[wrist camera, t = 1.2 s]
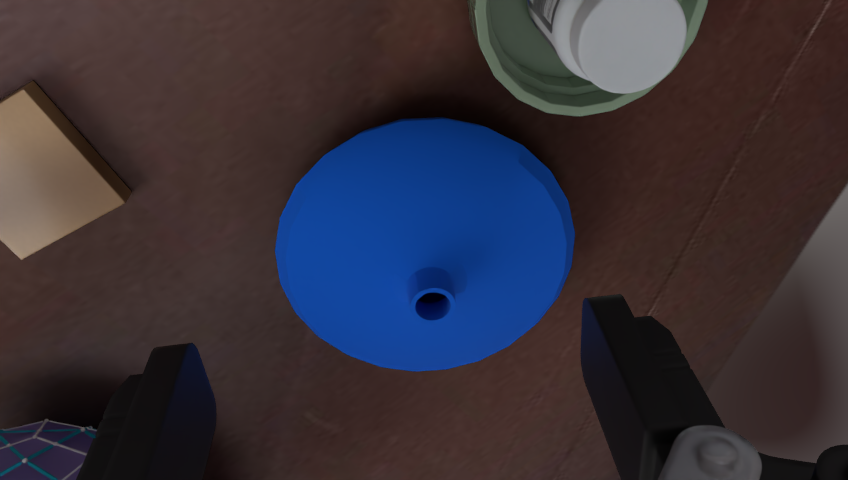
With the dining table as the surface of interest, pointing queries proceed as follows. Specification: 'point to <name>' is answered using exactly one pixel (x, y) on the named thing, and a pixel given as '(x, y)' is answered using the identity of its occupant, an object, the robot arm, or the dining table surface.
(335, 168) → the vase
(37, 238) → the trivet
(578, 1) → the pill bottle
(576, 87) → the bowl
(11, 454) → the decorative sphere
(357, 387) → the dining table surface
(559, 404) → the dining table surface
